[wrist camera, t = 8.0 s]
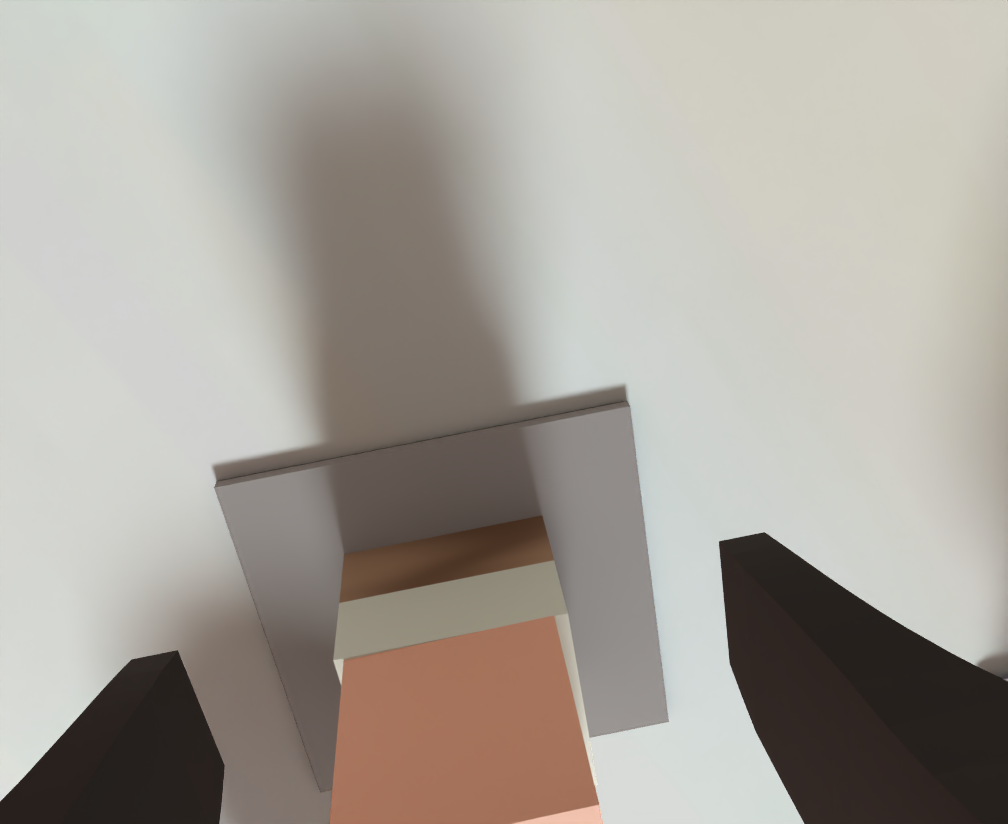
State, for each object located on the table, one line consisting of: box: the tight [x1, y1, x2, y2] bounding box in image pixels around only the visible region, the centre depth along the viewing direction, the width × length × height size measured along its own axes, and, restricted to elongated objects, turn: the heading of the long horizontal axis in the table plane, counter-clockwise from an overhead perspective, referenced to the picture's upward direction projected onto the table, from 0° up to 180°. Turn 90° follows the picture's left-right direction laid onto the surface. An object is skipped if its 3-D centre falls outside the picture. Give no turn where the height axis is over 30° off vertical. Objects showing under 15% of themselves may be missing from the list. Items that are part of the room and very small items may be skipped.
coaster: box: [214, 401, 669, 792], centre depth 24 cm, size 10×10×1 cm
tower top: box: [333, 560, 597, 786], centre depth 22 cm, size 5×5×2 cm
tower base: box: [339, 516, 554, 603], centre depth 23 cm, size 5×5×2 cm
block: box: [329, 616, 603, 824], centre depth 18 cm, size 4×4×5 cm
